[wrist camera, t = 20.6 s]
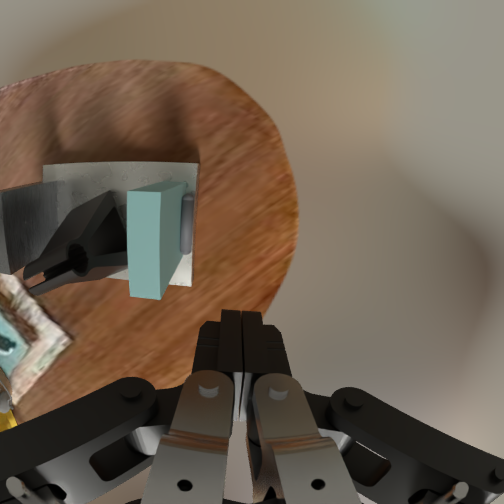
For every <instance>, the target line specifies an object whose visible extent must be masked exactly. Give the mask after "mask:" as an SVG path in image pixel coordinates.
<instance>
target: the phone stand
mask: <svg viewBox="0 0 504 504" xmlns="http://www.w3.org/2000/svg"><path fill="white" fill-rule="evenodd" d="M126 269H128V253H127V230H126V228H125V227H124V223H123V220H122V218H121V215H120V213H119V210H118V208H117V205H116V202H115V200H114V197H113V194H112V192H111V190H108V191H106V192H104V193H103V194H101V195H99V196H97V197H95V198H93V199H91V200H89V201H87V202H85V203H84V204H82V205H80V206H78V207H76V208H74V209H73V210H71V211H70V212H69V213H68V215H67V216H66V218H65V219H64V220H63V222H62V223H61V225H60V226H59V227H58V229H57V230H56V232H55V233H54V235H53V236H52V238H51V239H50V241H49V242H48V244H47V245H46V247H45V248H44V250H43V252H42V253H41V255H40V256H39V258H37V259H35V260H34V261H32V262H30V263H28V264H27V265H26V266H25V268H24V272H23V278H24V280H27V279H29V278H31V277H33V276H35V275H37V274H39V273H41V272H44V275H43V276H44V277H45V278H46V279H45V281H43V282H41V283H39V284H37V285H35V286H33V287H31V288H30V289H29V291H30V292H31V293H32V294H34V295H42V294H44V293H46V292H49V291H51V290H53V289H56V288H58V287H60V286H63V285H65V284H69V283H77V282H84V281H92V280H100V279H102V278H105V277H108V276H110V275H113V274H116V273H118V272H121V271H124V270H126Z"/></svg>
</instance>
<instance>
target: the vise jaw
mask: <svg viewBox="0 0 504 504" xmlns="http://www.w3.org/2000/svg"><path fill="white" fill-rule="evenodd" d="M193 213H194V196H193V195H192V194H190V193H187V194H186V182H168V181H162V182H158V183H154V184H151V185H147V186H143V187H140V188H136V189H133V190H129V191H127V253H128V273H129V287H130V296H133V297H141V298H149V299H158V300H161V298H162V296H163V294H164V292H165V290H166V288H167V286H168V284H169V282H170V280H171V278H172V276H173V274H174V273H175V271H176V269H177V267H178V265H179V263H180V261H181V259H182V257H183V255H188V254H190V253H191V251H192V231H193Z"/></svg>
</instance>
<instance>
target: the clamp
mask: <svg viewBox="0 0 504 504" xmlns="http://www.w3.org/2000/svg"><path fill="white" fill-rule="evenodd" d="M15 426H17V423H16V421H15V418H14V416H13V414H12V411H11V408H10V410H9V411H8V412H7V413H1V412H0V432H2V431H4V430H7V429H10V428H12V427H15Z"/></svg>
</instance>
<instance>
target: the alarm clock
mask: <svg viewBox="0 0 504 504" xmlns="http://www.w3.org/2000/svg"><path fill="white" fill-rule="evenodd" d="M11 395H12V388H11V385H10V383H9V381H8V379H7V377H6V375H5V373H4V372H3V370H2V369H1V368H0V412H1V413H7V412H8V411H9V410H10V408H11V409H14V408H13V406H11V405H12V397H11Z"/></svg>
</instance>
